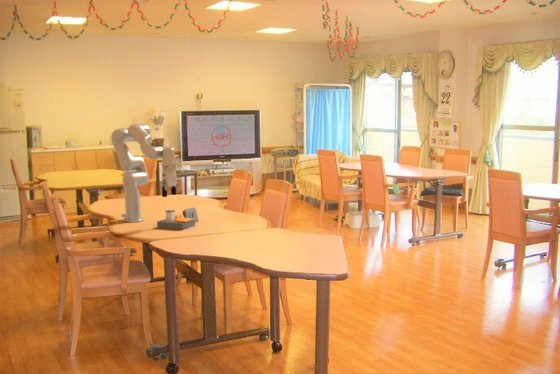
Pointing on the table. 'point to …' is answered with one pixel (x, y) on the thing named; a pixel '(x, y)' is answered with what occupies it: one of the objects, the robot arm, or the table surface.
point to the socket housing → (175, 224)
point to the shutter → (181, 219)
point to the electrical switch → (191, 214)
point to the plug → (170, 215)
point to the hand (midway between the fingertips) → (169, 195)
